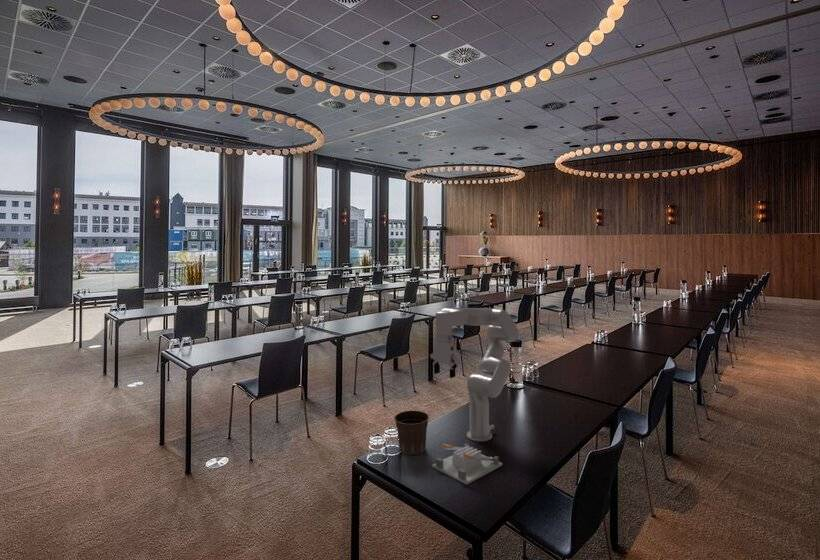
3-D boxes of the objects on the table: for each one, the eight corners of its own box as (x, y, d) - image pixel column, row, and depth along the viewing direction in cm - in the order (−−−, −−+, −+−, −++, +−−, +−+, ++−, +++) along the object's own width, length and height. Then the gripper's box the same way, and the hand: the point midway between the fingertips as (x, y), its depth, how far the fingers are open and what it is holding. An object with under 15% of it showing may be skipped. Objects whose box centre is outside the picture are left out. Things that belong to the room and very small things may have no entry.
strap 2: (489, 459, 197) (490, 454, 197) (495, 461, 195) (496, 457, 195) (462, 458, 185) (463, 453, 185) (468, 460, 183) (469, 456, 183)
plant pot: (418, 461, 200) (417, 426, 199) (388, 453, 209) (387, 419, 207) (435, 447, 214) (435, 414, 213) (406, 440, 222) (406, 408, 221)
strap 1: (467, 449, 207) (468, 445, 207) (472, 451, 204) (473, 447, 205) (440, 447, 195) (441, 443, 195) (445, 450, 193) (446, 446, 193)
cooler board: (467, 450, 210) (467, 436, 209) (502, 465, 195) (502, 450, 194) (432, 466, 195) (431, 452, 194) (466, 484, 180) (466, 469, 179)
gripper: (464, 339, 200) (464, 377, 202) (436, 334, 213) (436, 370, 214) (452, 342, 195) (453, 380, 196) (424, 337, 208) (425, 373, 209)
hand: (444, 375), depth 205 cm, fingers open, 9 cm apart
